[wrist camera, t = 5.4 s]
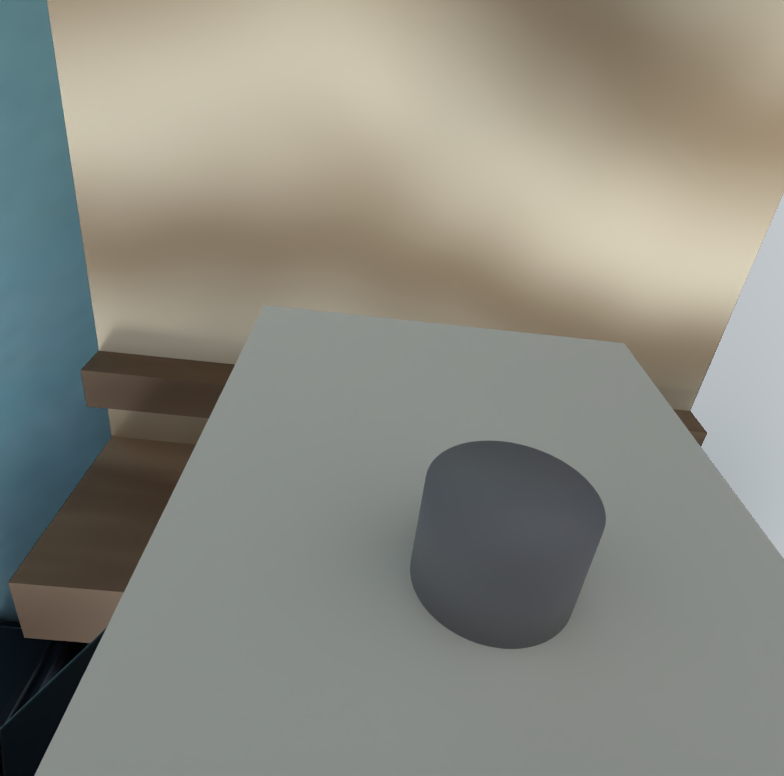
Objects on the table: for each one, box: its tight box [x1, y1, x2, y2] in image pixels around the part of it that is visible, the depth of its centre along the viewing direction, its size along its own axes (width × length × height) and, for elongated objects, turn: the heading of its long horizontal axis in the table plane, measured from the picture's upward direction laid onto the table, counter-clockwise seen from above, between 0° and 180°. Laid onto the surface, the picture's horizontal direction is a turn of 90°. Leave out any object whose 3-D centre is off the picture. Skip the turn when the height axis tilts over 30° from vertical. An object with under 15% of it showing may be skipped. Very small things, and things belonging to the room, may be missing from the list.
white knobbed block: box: [34, 305, 784, 776], centre depth 7 cm, size 7×5×6 cm
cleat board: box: [8, 0, 784, 643], centre depth 15 cm, size 16×18×7 cm
